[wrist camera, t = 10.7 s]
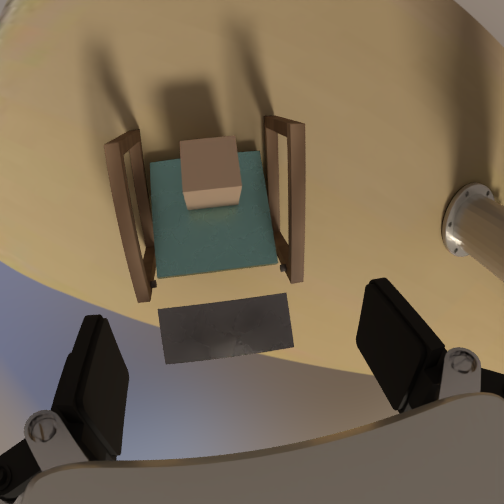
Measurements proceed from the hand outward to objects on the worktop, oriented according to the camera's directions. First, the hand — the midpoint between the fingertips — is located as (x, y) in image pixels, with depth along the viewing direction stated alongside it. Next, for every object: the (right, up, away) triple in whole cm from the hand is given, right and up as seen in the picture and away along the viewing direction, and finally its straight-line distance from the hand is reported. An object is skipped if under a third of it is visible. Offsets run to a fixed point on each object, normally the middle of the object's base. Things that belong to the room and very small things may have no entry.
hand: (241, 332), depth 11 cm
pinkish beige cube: (-4, +10, +21) cm, 23 cm away
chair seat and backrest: (-3, +2, +23) cm, 23 cm away
